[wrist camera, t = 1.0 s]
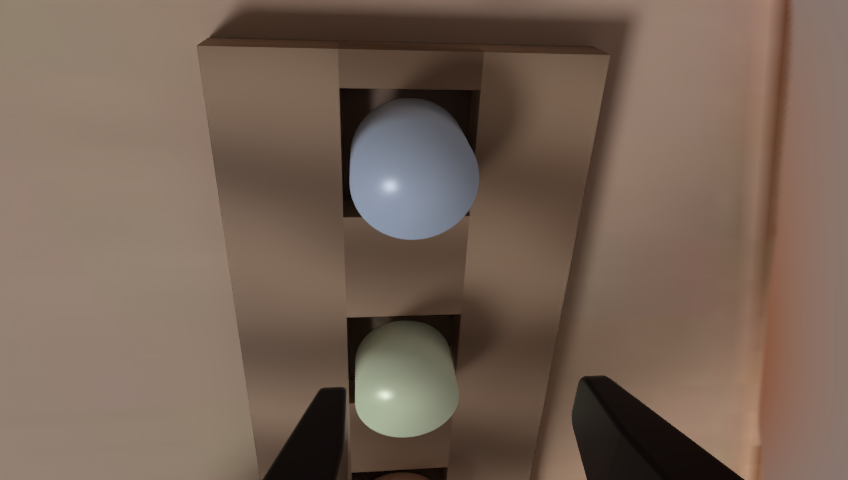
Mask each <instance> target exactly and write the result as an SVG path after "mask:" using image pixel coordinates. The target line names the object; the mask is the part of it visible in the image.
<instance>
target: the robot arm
mask: <svg viewBox="0 0 848 480" xmlns="http://www.w3.org/2000/svg"><path fill="white" fill-rule="evenodd" d="M572 425H573V429H574V433H575V436H576V440H577V444H578V448H579V451H580V455H581V459H582V462H583V466H584V470H585V474H586V477H587V480H744V479H743V478H741V477H740V476H739V475H737V474H736V473H735V472H734V471H732V470H731V469H730V468H728V467H727V466H726V465H724V464H723V463H722V462H720V461H719V460H718V459H716V458H715V457H714V456H712V455H711V454H710V453H708V452H707V451H706V450H704V449H703V448H702V447H700V446H699V445H698V444H696V443H695V442H694V441H692V440H691V439H690V438H688V437H687V436H686V435H684V434H683V433H682V432H680V431H679V430H678V429H676V428H675V427H674V426H672V425H671V424H670V423H668V422H667V421H666V420H664V419H663V418H662V417H660V416H659V415H658V414H656V413H655V412H654V411H652V410H651V409H650V408H649V407H647V406H646V405H645V404H643V403H642V402H641V401H639V400H638V399H637V398H635V397H634V396H633V395H631V394H630V393H629V392H627V391H626V390H625V389H623V388H622V387H621V386H619V385H618V384H617V383H615V382H614V381H613V380H611V379H610V378H608V377H606V376H602V375H601V376H584V377H582V378H581V379H580V381H579V384H578V388H577V392H576V397H575V401H574V406H573V410H572ZM262 480H348V413H347V391H346V389H345V388H344V387H324V388H321V389H320V390H319V391H318V392H317V394H316V395H315V397H314V398H313V400H312V402H311V403H310V405H309V406H308V408H307V410H306V411H305V413H304V414H303V416H302V417H301V419H300V421H299V422H298V424H297V425H296V427H295V428H294V430H293V432H292V433H291V435H290V436H289V438H288V439H287V441H286V443H285V444H284V446H283V447H282V449H281V451H280V452H279V454H278V455H277V457H276V458H275V460H274V462H273V463H272V465H271V466H270V468H269V469H268V471H267V473H266V474H265V476H264V477H263V479H262Z"/></svg>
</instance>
